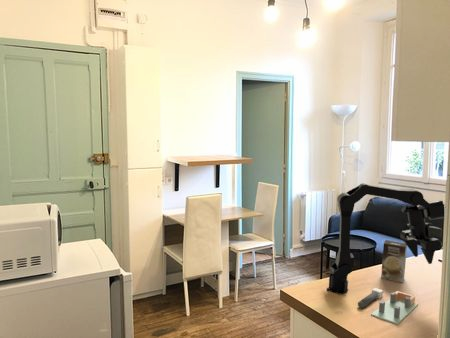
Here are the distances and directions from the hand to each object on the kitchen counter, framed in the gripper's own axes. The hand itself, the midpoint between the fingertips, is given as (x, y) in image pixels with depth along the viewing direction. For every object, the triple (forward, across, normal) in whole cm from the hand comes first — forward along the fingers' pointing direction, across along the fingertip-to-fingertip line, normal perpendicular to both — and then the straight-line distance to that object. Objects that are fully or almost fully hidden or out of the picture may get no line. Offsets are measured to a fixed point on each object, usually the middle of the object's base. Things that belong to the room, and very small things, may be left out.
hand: (423, 260), depth 145 cm
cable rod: (+10, -3, +25) cm, 27 cm away
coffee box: (+14, +20, +4) cm, 24 cm away
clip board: (+12, -10, +19) cm, 24 cm away
